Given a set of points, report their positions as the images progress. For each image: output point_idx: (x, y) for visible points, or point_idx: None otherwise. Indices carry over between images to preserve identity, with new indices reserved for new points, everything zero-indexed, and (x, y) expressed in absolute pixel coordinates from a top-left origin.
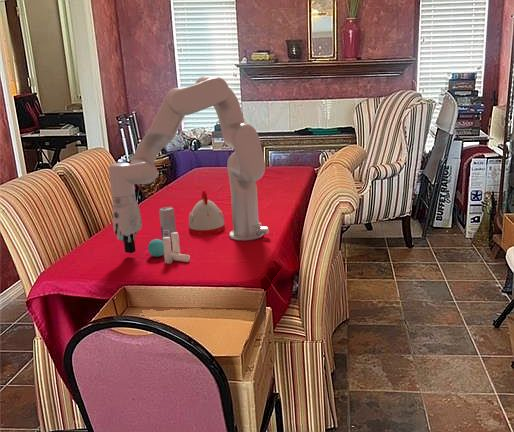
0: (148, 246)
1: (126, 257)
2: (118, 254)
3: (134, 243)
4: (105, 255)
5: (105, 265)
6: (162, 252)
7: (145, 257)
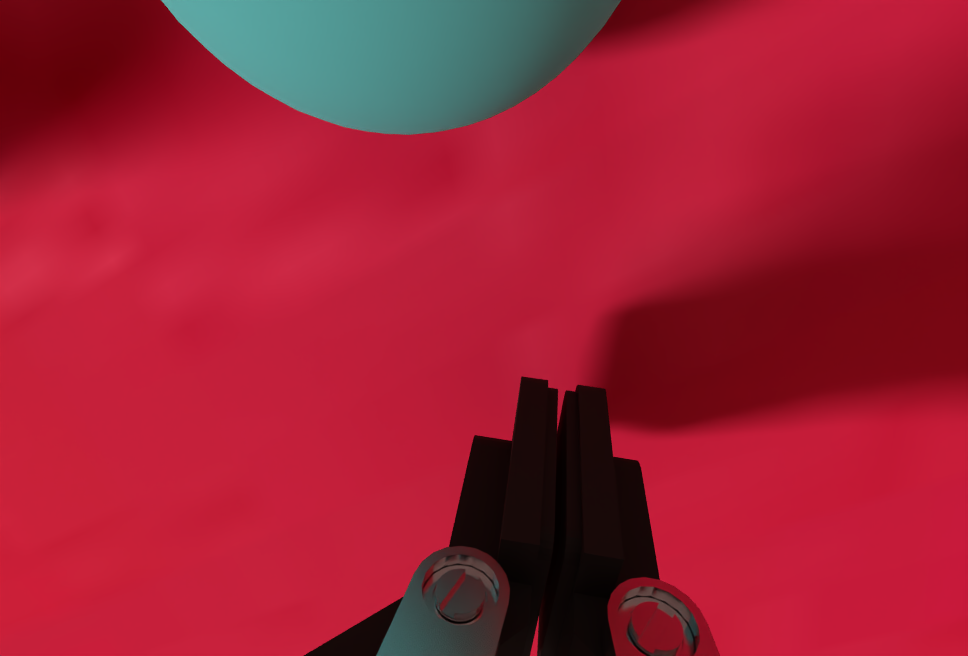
0: (559, 52)
1: None
2: None
3: (513, 483)
4: None
5: (918, 552)
6: None
7: (554, 144)
